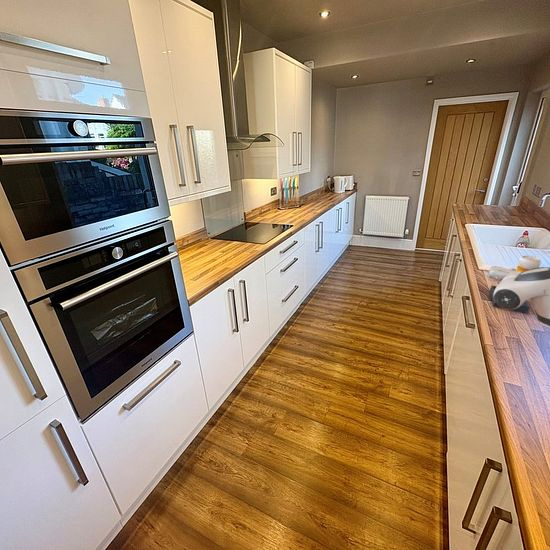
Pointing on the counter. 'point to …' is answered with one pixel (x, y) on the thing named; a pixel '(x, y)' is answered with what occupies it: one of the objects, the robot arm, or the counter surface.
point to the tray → (522, 308)
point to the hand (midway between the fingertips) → (525, 273)
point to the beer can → (528, 263)
